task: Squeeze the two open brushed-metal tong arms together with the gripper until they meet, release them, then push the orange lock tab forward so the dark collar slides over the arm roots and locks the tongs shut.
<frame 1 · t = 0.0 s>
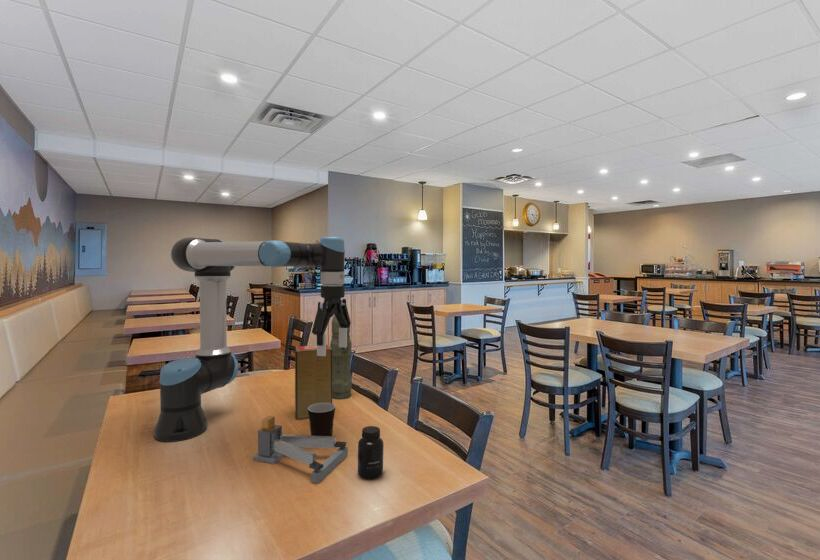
hand: (332, 351, 126), 28 cm above the table, fingers open, 13 cm apart
food packaging: (313, 413, 148), on the table
left arm: (313, 440, 114), point 5 cm above the table, hinge at 14.0°
thermos: (340, 396, 167), on the table
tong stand: (271, 456, 114), on the table
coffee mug: (323, 436, 128), on the table
right arm: (295, 454, 106), point 5 cm above the table, hinge at -14.0°
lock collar: (270, 434, 114), point 6 cm above the table, slide at 0.0 cm
supplement bottle: (370, 474, 105), on the table
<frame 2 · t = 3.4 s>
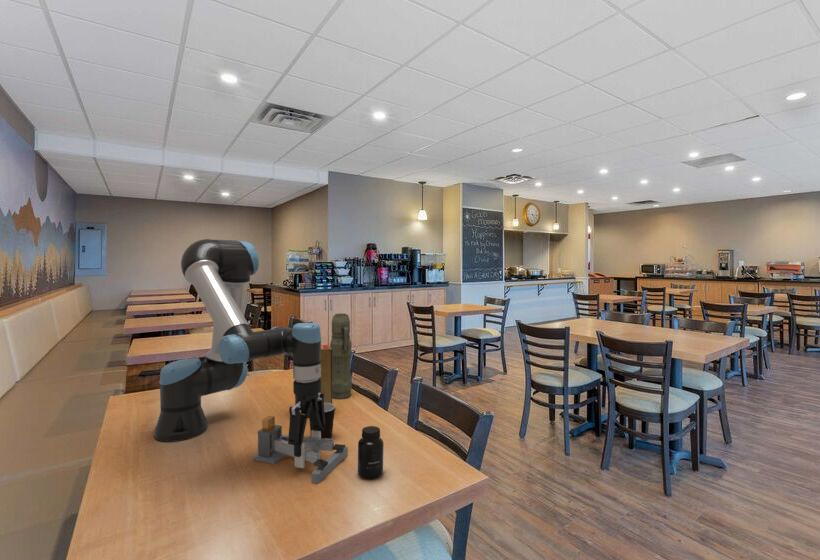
hand: (308, 459, 110), 1 cm above the table, fingers open, 7 cm apart
left arm: (312, 442, 113), point 5 cm above the table, hinge at 8.8°, touching gripper
right arm: (298, 452, 107), point 5 cm above the table, hinge at -9.4°, touching gripper
everything else where it was.
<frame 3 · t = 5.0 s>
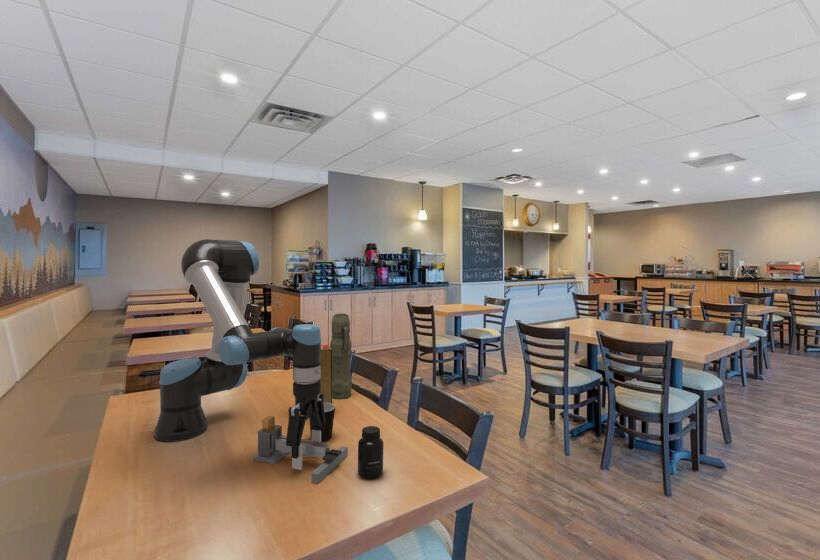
hand: (307, 460, 110), 1 cm above the table, fingers open, 9 cm apart
left arm: (309, 445, 111), point 5 cm above the table, hinge at -0.8°
right arm: (304, 449, 109), point 5 cm above the table, hinge at 0.4°
everything else where it was.
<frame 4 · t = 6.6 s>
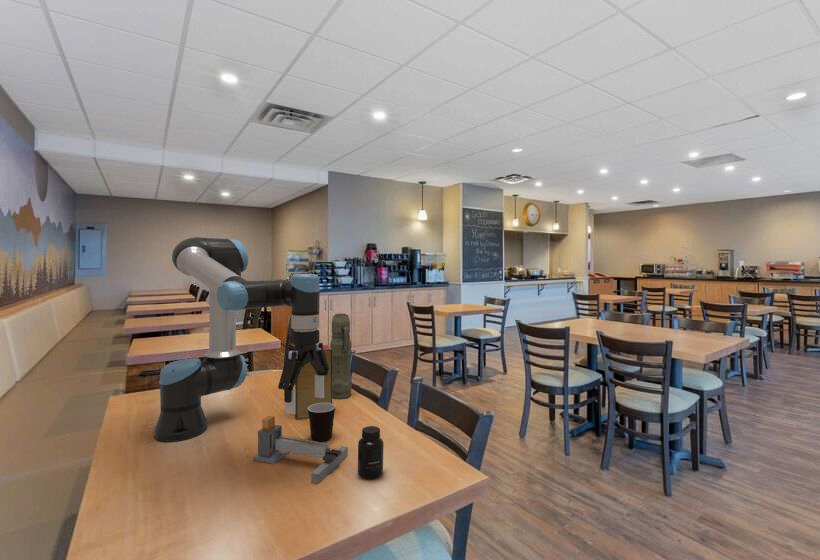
hand: (305, 405, 110), 16 cm above the table, fingers open, 13 cm apart
nothing on the table moved.
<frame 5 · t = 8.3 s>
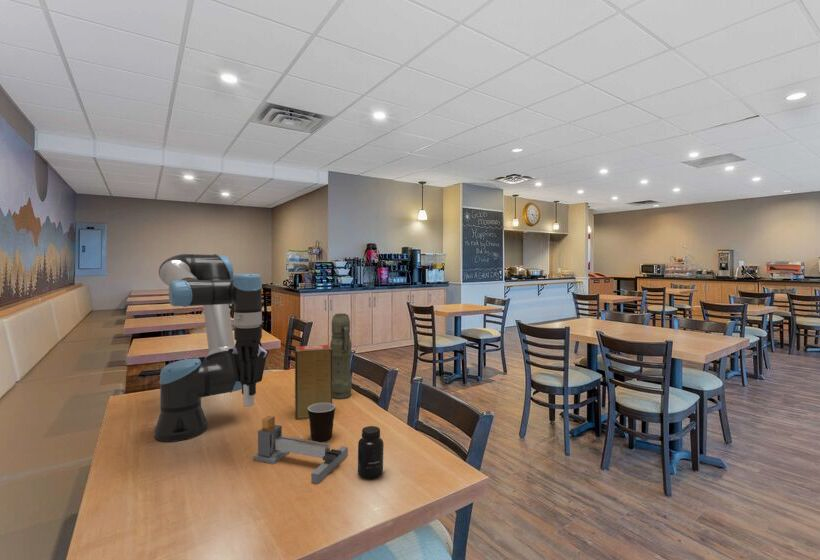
hand: (248, 405, 116), 14 cm above the table, fingers closed
nothing on the table moved.
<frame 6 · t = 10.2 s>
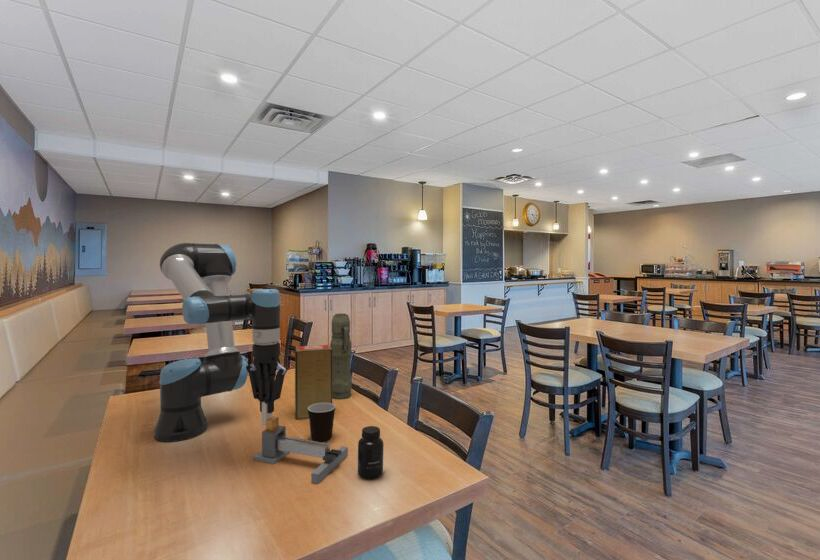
hand: (267, 423, 114), 10 cm above the table, fingers closed
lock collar: (274, 435, 114), point 6 cm above the table, slide at 1.4 cm, touching gripper
everything else where it was.
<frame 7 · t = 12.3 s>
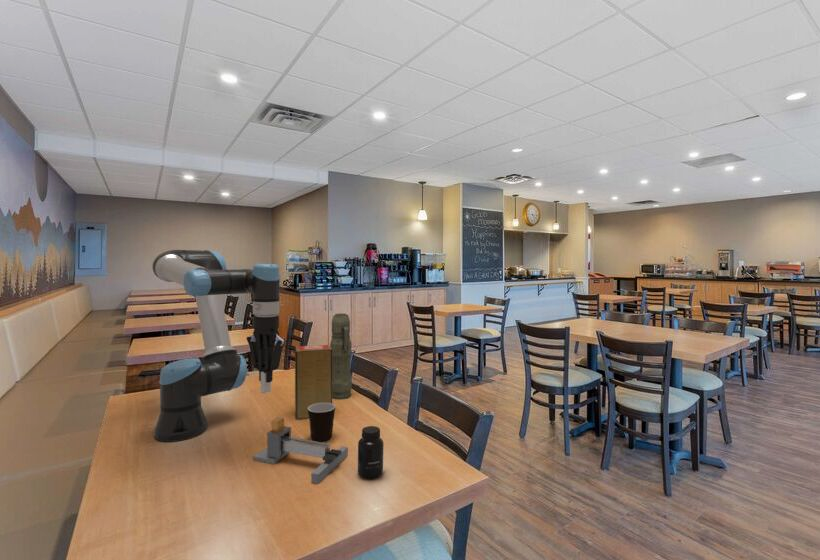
hand: (265, 392, 119), 17 cm above the table, fingers closed
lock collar: (279, 436, 113), point 6 cm above the table, slide at 3.2 cm
everything else where it was.
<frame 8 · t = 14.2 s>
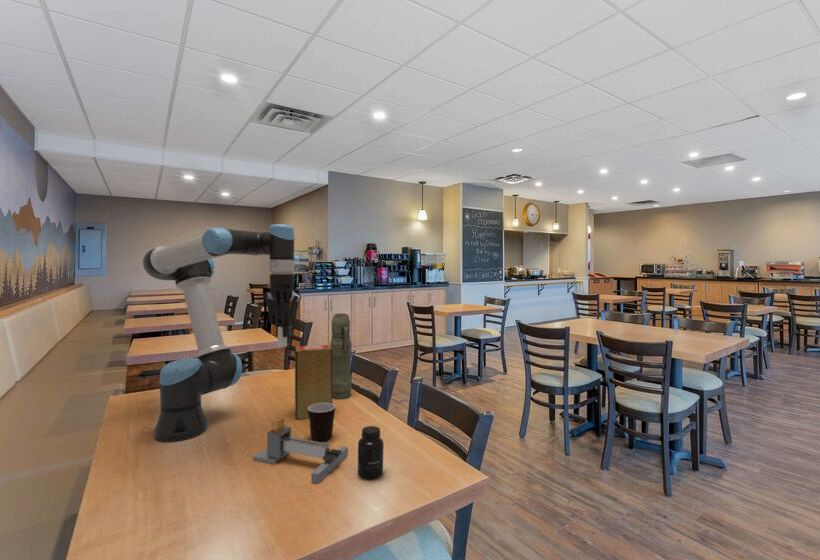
hand: (282, 346, 126), 29 cm above the table, fingers closed
nothing on the table moved.
at the end: left arm at -1° (first picture: +14°); right arm at +0° (first picture: -14°); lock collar slide at 3.2 cm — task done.
